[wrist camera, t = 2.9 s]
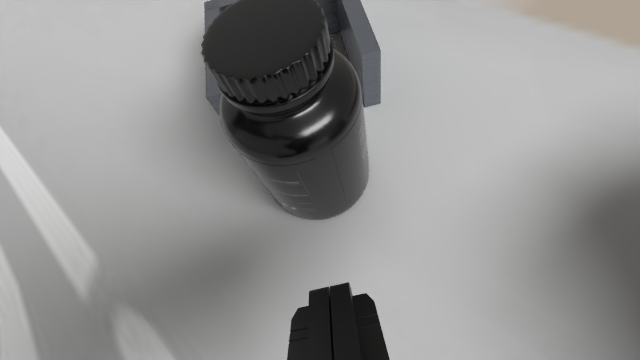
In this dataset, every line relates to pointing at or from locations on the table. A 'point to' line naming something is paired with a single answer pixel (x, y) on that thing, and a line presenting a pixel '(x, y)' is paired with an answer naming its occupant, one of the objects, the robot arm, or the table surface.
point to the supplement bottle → (290, 103)
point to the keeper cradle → (341, 16)
